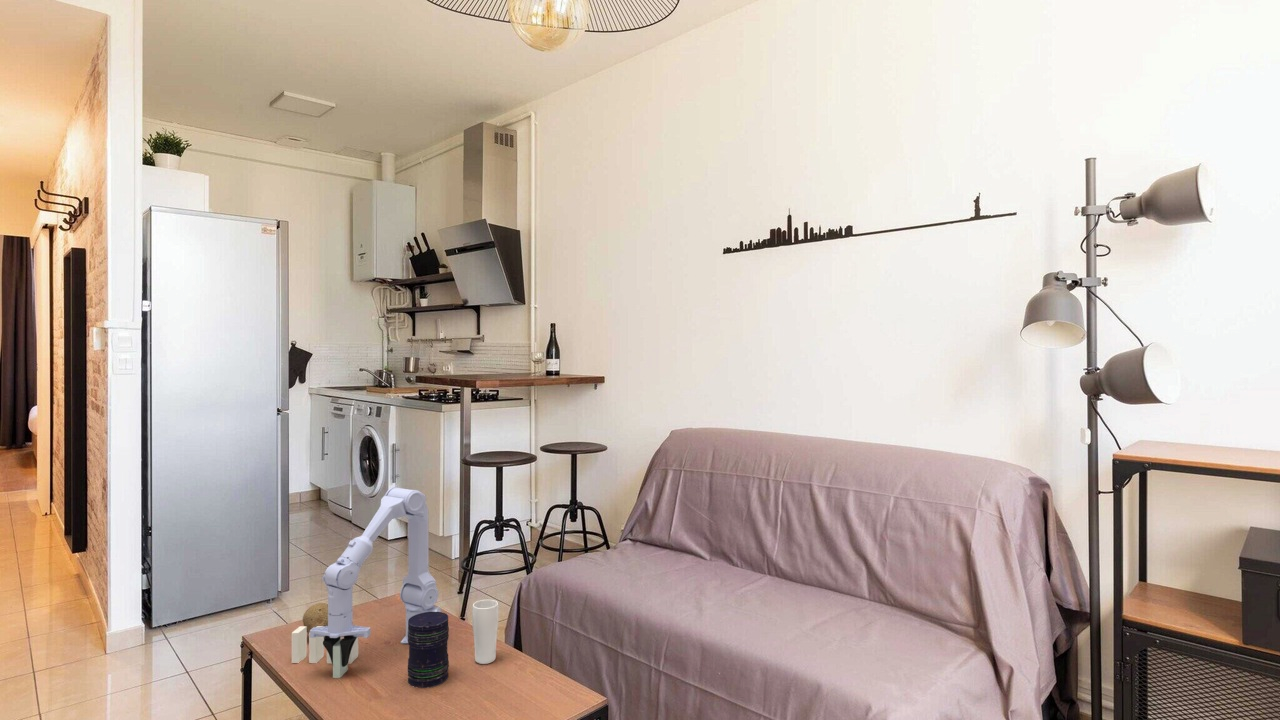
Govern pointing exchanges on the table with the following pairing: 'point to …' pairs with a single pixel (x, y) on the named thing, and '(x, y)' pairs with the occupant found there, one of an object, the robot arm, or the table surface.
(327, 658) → the domino
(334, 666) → the domino
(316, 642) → the domino
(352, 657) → the domino
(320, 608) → the natural sponge
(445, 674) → the dark blue cylinder
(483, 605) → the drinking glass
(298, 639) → the domino
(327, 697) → the table surface
